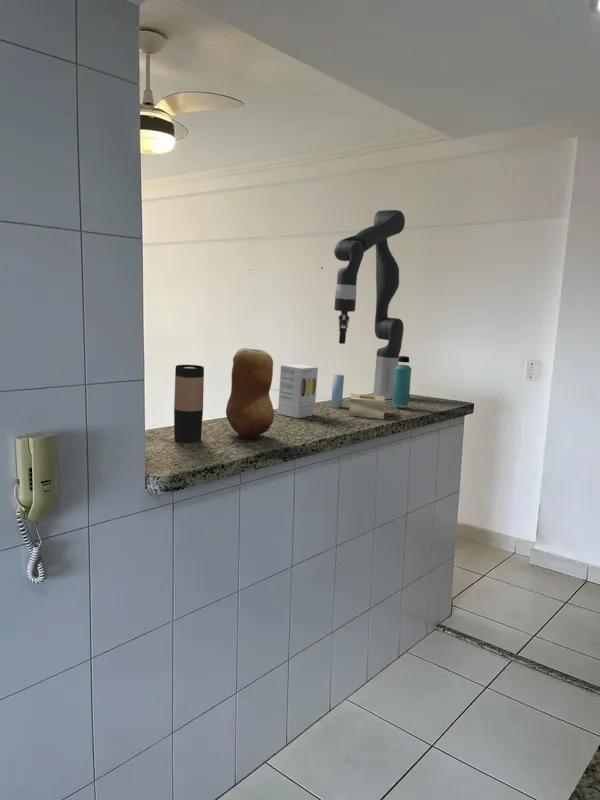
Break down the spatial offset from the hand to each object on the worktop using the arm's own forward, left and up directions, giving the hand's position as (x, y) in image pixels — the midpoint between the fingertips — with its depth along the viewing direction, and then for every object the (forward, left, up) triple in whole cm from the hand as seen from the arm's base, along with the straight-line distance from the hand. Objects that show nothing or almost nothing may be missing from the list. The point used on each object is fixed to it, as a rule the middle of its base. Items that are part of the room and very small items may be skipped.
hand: (342, 342), depth 217 cm
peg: (0, 0, -24) cm, 24 cm away
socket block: (+9, +11, -24) cm, 28 cm away
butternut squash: (+56, -23, -24) cm, 65 cm away
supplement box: (+20, -13, -24) cm, 34 cm away
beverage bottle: (-8, +24, -24) cm, 35 cm away
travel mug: (+65, -38, -24) cm, 79 cm away
